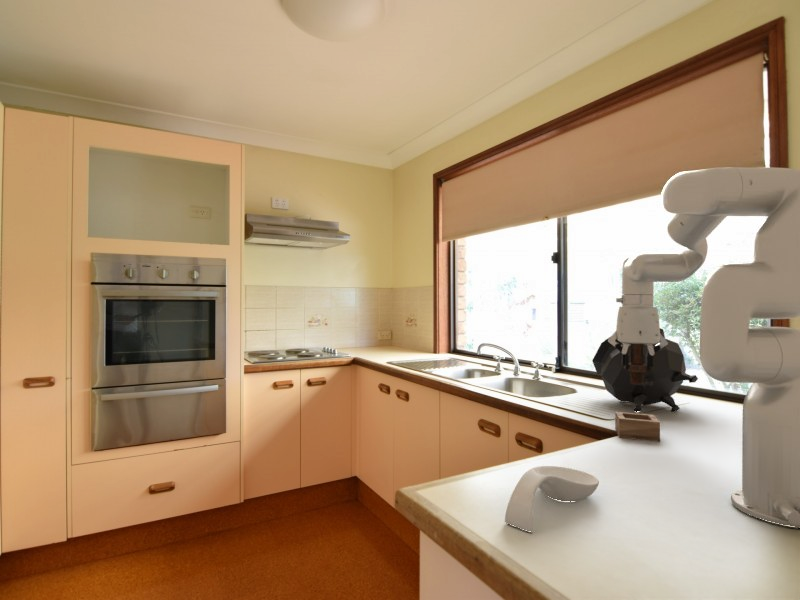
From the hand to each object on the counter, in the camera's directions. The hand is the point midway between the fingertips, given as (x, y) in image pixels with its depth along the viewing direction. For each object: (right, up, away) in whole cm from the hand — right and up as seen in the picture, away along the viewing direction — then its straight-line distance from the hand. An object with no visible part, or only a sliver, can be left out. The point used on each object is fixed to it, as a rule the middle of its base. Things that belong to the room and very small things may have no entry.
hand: (636, 368), depth 121 cm
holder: (0, -18, 0) cm, 18 cm away
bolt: (0, -5, 0) cm, 5 cm away
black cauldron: (+19, -19, +32) cm, 42 cm away
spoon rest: (-38, -18, -43) cm, 60 cm away
